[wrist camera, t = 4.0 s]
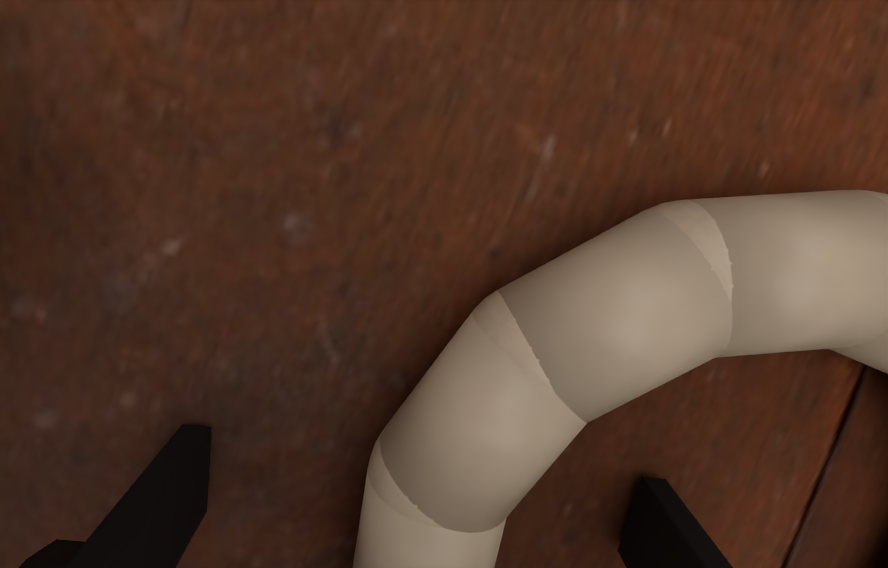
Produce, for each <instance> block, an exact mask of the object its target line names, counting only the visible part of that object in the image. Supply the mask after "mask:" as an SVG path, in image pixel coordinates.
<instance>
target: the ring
mask: <svg viewBox="0 0 888 568" xmlns="http://www.w3.org/2000/svg"><path fill="white" fill-rule="evenodd" d="M818 349H830V350H832V351H835V352H837V353H839V354H842V355H844V356H846V357H849V358H851V359H854V360H856V361H858V362H861V363H863V364H865V365H868V366H870V367H873V368H875V369H877V370H880V371H882V372H884V373H887V374H888V194H883V193H878V192H874V191H866V190H834V191H818V192H802V193H785V194H769V195H753V196H737V197H721V198H704V199H688V200H676V201H671V202H666V203H662V204H659V205H657V206H654V207H652V208H649V209H646V210H644V211H642V212H640V213H638V214H637V215H635V216H633V217H631V218H629V219H627V220H625V221H624V222H622V223H620V224H618V225H616V226H614V227H612V228H611V229H609V230H607V231H605V232H603V233H601V234H600V235H598V236H596V237H594V238H592V239H590V240H588V241H587V242H585V243H583V244H581V245H579V246H577V247H575V248H574V249H572V250H570V251H568V252H566V253H564V254H563V255H561V256H559V257H557V258H555V259H553V260H551V261H550V262H548V263H546V264H544V265H542V266H540V267H539V268H537V269H535V270H533V271H531V272H529V273H527V274H526V275H524V276H522V277H520V278H518V279H516V280H514V281H513V282H511V283H509V284H507V285H505V286H503V287H502V288H500V289H498V290H496V291H494V292H493V293H492V294H490V295H489V296H487V297H486V298H485V299H483V300H482V302H481V303H480V304H479V305H478V306H477V307H476V308H475V309H474V310H473V311H472V312H471V314H470V315H469V316H468V318H467V319H466V320H465V322H464V323H463V324H462V326H461V327H460V328H459V330H458V331H457V332H456V334H455V335H454V336H453V338H452V339H451V340H450V342H449V343H448V344H447V346H446V347H445V348H444V350H443V351H442V352H441V353H440V355H439V356H438V357H437V359H436V360H435V361H434V363H433V364H432V365H431V367H430V368H429V369H428V371H427V372H426V373H425V375H424V376H423V377H422V379H421V380H420V381H419V383H418V384H417V385H416V387H415V388H414V389H413V391H412V392H411V393H410V395H409V396H408V397H407V399H406V400H405V401H404V403H403V404H402V405H401V407H400V408H399V409H398V411H397V412H396V413H395V414H394V416H393V417H392V418H391V420H390V421H389V422H388V424H387V425H386V426H385V428H384V429H383V431H382V432H381V434H380V435H379V437H378V439H377V441H376V442H375V445H374V447H373V450H372V454H371V457H370V460H369V465H368V470H367V477H366V483H365V490H364V496H363V503H362V509H361V516H360V522H359V529H358V536H357V542H356V549H355V555H354V562H353V568H494V567H495V563H496V559H497V555H498V550H499V546H500V542H501V538H502V534H503V530H504V526H505V522H506V518H507V516H508V515H509V514H510V513H511V512H512V510H513V509H514V508H515V507H516V506H517V504H518V503H519V502H520V501H521V500H522V499H523V497H524V496H525V495H526V494H527V493H528V492H529V490H530V489H531V488H532V487H533V486H534V485H535V483H536V482H537V481H538V480H539V479H540V478H541V476H542V475H543V474H544V473H545V472H546V471H547V469H548V468H549V467H550V466H551V465H552V464H553V462H554V461H555V460H556V459H557V458H558V457H559V455H560V454H561V453H562V452H563V451H564V450H565V448H566V447H567V446H568V445H569V444H570V443H571V441H572V440H573V439H574V438H575V437H576V436H577V434H578V433H579V432H580V431H581V430H582V428H583V427H584V426H585V425H586V424H587V423H588V422H590V421H592V420H594V419H596V418H598V417H600V416H602V415H603V414H605V413H607V412H609V411H611V410H613V409H615V408H617V407H619V406H621V405H623V404H625V403H627V402H629V401H631V400H633V399H635V398H637V397H639V396H641V395H643V394H645V393H647V392H649V391H651V390H653V389H654V388H656V387H658V386H660V385H662V384H664V383H666V382H668V381H670V380H672V379H674V378H676V377H678V376H680V375H682V374H684V373H686V372H688V371H690V370H692V369H694V368H696V367H698V366H700V365H702V364H704V363H706V362H707V361H709V360H711V359H713V358H716V357H728V356H741V355H754V354H767V353H780V352H792V351H805V350H818Z"/></svg>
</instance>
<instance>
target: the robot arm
mask: <svg viewBox="0 0 888 568" xmlns="http://www.w3.org/2000/svg"><path fill="white" fill-rule="evenodd" d="M210 443H211V428H209V427H200V426H191V425H182V426H181V427H180V428H179V429H178V430H177V432H176V433H175V434H174V435H173V436H172V438H171V439H170V440H169V441H168V442H167V444H166V445H165V446H164V447H163V449H162V450H161V451H160V452H159V453H158V455H157V456H156V457H155V458H154V459H153V461H152V462H151V463H150V464H149V465H148V467H147V468H146V469H145V470H144V472H143V473H142V474H141V475H140V476H139V478H138V479H137V480H136V481H135V482H134V484H133V485H132V486H131V487H130V488H129V490H128V491H127V492H126V493H125V495H124V496H123V497H122V498H121V499H120V501H119V502H118V503H117V504H116V505H115V507H114V508H113V509H112V510H111V512H110V513H109V514H108V515H107V516H106V518H105V519H104V520H103V521H102V522H101V524H100V525H99V526H98V527H97V528H96V530H95V531H94V532H93V533H92V535H91V536H90V537H89V538H88V539H87V541H86V542H81V541H69V540H57V539H56V540H55V541H53V542H52V543H50V544H49V545H47V546H46V547H44V548H43V549H41V550H40V551H38V552H37V553H35V554H34V555H32V556H31V557H29V558H27V559H26V560H25V562H24V563H23V564H22V565H21V566H20V567H19V568H175V567H176V565H177V563H178V562H179V560H180V558H181V556H182V554H183V553H184V551H185V549H186V547H187V546H188V544H189V542H190V540H191V538H192V537H193V535H194V533H195V531H196V529H197V528H198V526H199V524H200V522H201V521H202V519H203V517H204V515H205V513H206V512H207V497H208V479H209V461H210ZM618 552H619V554H620V556H621V558H622V560H623V562H624V564H625V566H626V568H733V567H732V566H731V565H730V563H729V562H728V561H727V559H726V558H725V557H724V556H723V554H722V553H721V552H720V550H719V549H718V548H717V546H716V545H715V544H714V542H713V541H712V540H711V538H710V537H709V536H708V534H707V533H706V532H705V531H704V529H703V528H702V527H701V525H700V524H699V523H698V521H697V520H696V519H695V517H694V516H693V515H692V513H691V512H690V511H689V510H688V508H687V507H686V506H685V504H684V503H683V502H682V500H681V499H680V498H679V496H678V495H677V494H676V492H675V491H674V490H673V489H672V487H671V486H670V485H669V483H668V482H667V481H666V479H661V478H652V477H643V476H641V479H640V482H639V486H638V489H637V492H636V495H635V498H634V501H633V504H632V507H631V510H630V513H629V516H628V520H627V523H626V526H625V529H624V532H623V535H622V538H621V541H620V544H619V547H618Z"/></svg>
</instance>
